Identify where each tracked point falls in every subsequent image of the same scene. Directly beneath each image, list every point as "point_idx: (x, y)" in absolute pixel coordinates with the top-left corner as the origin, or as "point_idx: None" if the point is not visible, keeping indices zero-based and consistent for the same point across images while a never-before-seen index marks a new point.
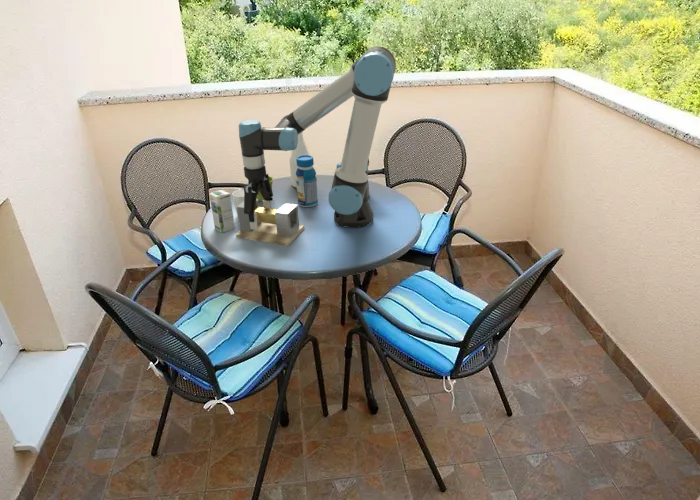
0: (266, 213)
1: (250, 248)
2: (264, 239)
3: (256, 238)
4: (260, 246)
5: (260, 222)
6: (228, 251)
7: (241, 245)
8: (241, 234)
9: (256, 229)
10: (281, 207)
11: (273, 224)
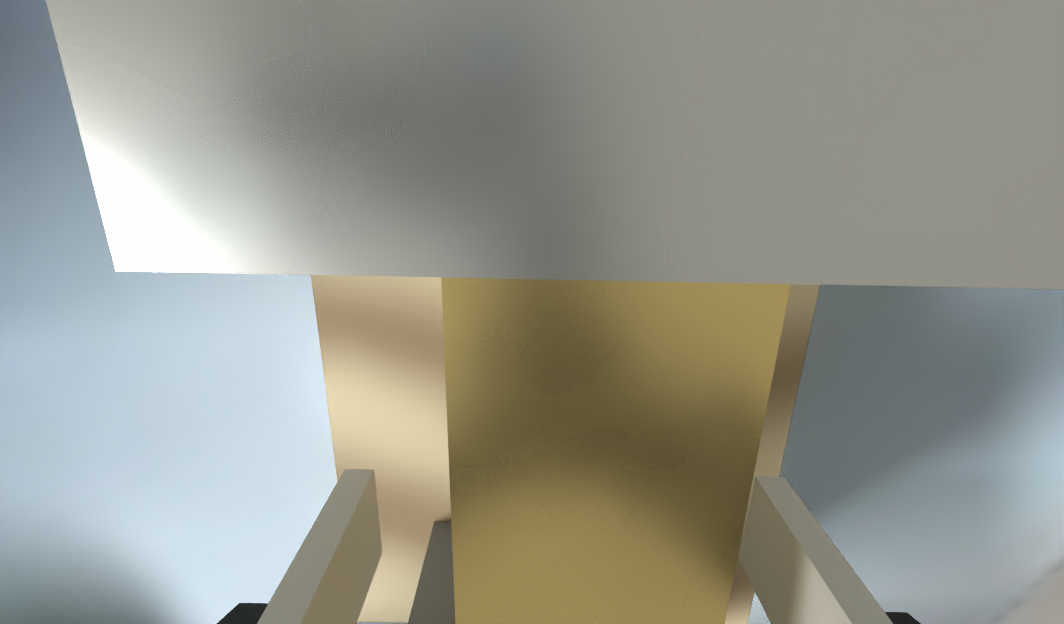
0: (734, 560)
1: (953, 384)
2: (808, 317)
3: (784, 415)
4: (901, 304)
5: (449, 534)
6: (1019, 542)
7: (891, 491)
8: (739, 585)
9: (786, 487)
10: (634, 221)
11: (414, 385)
